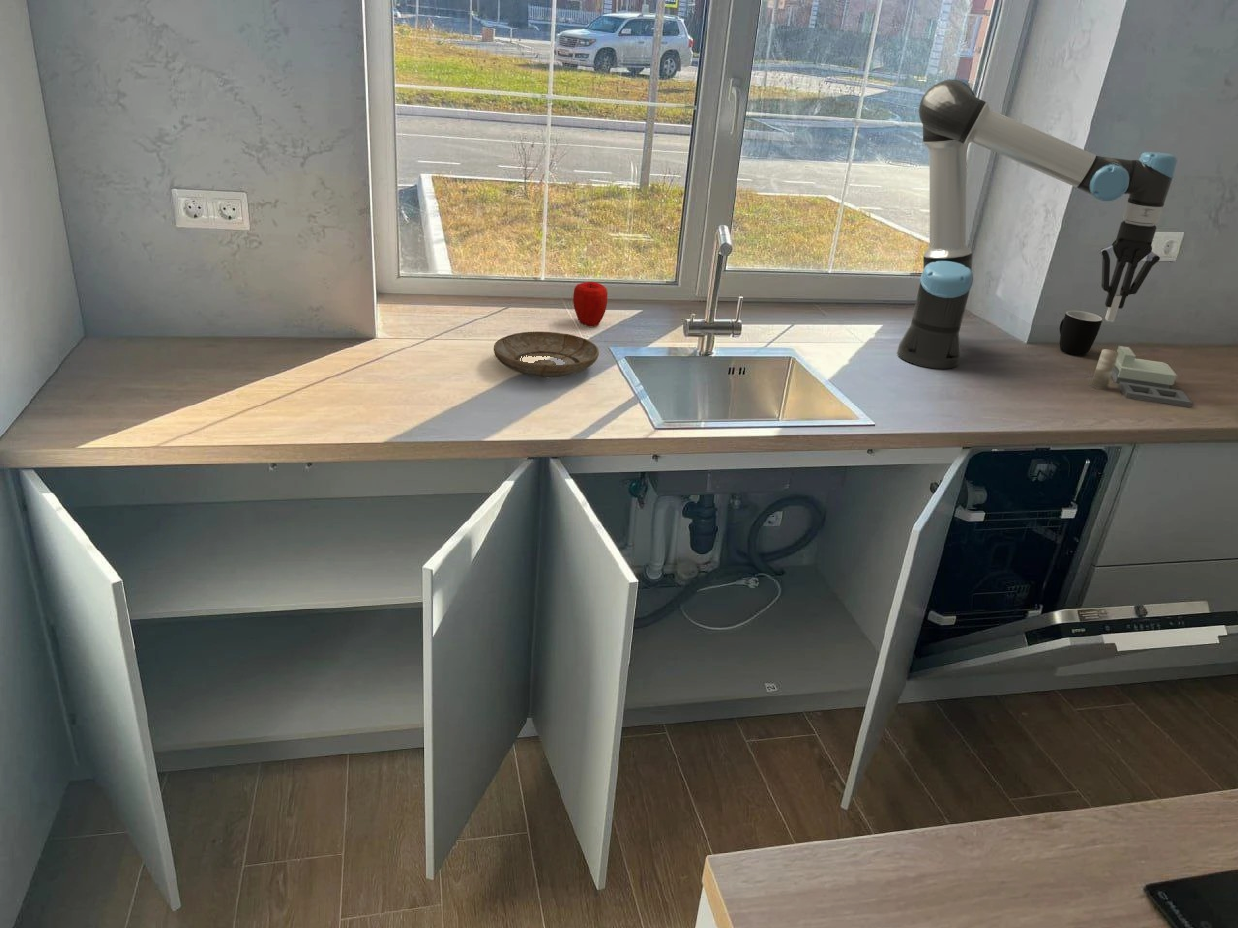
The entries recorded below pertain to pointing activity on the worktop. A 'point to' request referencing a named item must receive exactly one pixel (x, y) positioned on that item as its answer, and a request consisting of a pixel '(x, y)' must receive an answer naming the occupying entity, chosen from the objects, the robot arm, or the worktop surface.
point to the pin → (1104, 369)
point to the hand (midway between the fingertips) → (1109, 320)
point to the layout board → (1118, 379)
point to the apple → (590, 302)
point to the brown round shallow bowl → (546, 353)
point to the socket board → (1154, 394)
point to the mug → (1078, 332)
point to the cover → (1143, 368)
